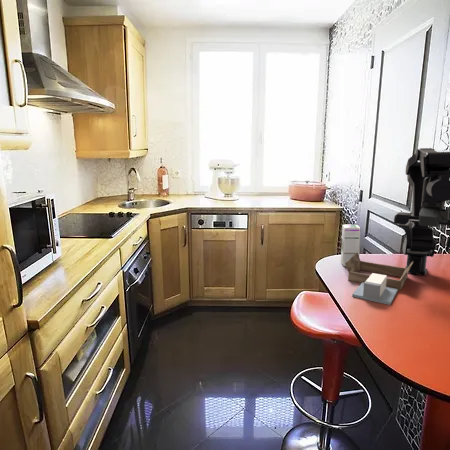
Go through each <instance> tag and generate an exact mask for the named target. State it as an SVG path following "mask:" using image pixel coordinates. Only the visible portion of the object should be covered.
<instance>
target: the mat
mask: <svg viewBox="0 0 450 450" xmlns="http://www.w3.org/2000/svg"><path fill="white" fill-rule="evenodd" d="M359 284H360V285H358V287H357V288H356V289H355V290H354V292H352V294H351V297H353V298H357V299H360V300H361V299H362V300H365V301H371V302H373V303H374V302H375V303H378V304H382V305H383V304H385V305H388V306H391V305H392V303H393V300H394V299H395V297H396V295H397V293H398V291H399V290H398V289H396V288H391V287H386V289H385V290H384V292H383V293H382V295H381V296H380V298H379V299H378V300H377V299H373V298H368V297H363V290H364V282H362V283H359Z"/></svg>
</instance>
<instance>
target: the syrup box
mask: <svg viewBox="0 0 450 450" xmlns="http://www.w3.org/2000/svg"><path fill="white" fill-rule="evenodd" d="M360 249H361V227H360V226H359V224H353V223H352V224H351V223H350V224H342V227H341V249H340V251H341V252H340V262H341V265H342V267H346V265H345V263H346V262H347V261H348V260H349V259H350V258H351V257H352V256H354V255H355V254H356V253H358V255H359V256H360V252H361V251H360Z"/></svg>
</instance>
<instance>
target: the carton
mask: <svg viewBox="0 0 450 450" xmlns="http://www.w3.org/2000/svg"><path fill="white" fill-rule="evenodd" d="M413 262H414V261H412V262H411V264H410V265H409V267H408V268H405V267H402V266H395V265H389V264H388V265H387V264H381V263H377V262H369V261H363V260H361V258H360V254H359V255H358V253H356V254H355V255H354V256H352V257H351V258H350V259H349V260H348V261H347V262H346V263H345V265H346V266H345V267H346V270H347V272H348V277H347V278H348V279H347V281H349V282H353V283H359V284H361V283H362V282H365V281H366V280H367V279H368V278H369V277H370V275H371V274H367V273H361V272H360V271H365V272H372V273H375V274H381V275H387V276H395V277H398V278H400V279H395V278H390V277H389V278H388V277H387V280H386V287H391V288H396V289H398V291H401V290H402V289H403V287H404V285H405V283H406V281H407V279H408V275H409V273H408V271H409V269H410V268H411V266H412V264H413Z"/></svg>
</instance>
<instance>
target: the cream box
mask: <svg viewBox="0 0 450 450" xmlns="http://www.w3.org/2000/svg"><path fill="white" fill-rule="evenodd" d="M369 275H370V277H369V278H368V279H367V280H366V281H365V282H364V290H363V297H368V298H373V299H377V300H378V299H379V298H380V296H381V295H382V293H383V292H384V290H385V289H386V280H387V278H388V274H382V273H376V272H372V273H371V274H369Z"/></svg>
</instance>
